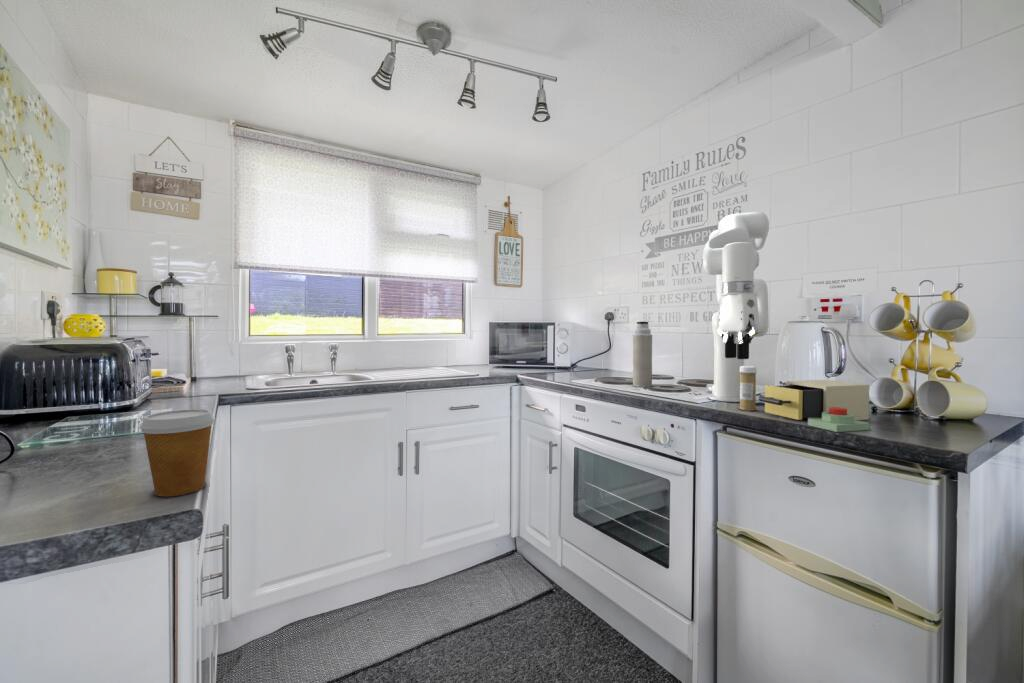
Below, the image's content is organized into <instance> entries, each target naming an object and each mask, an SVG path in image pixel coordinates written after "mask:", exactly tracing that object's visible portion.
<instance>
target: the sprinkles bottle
mask: <svg viewBox="0 0 1024 683" xmlns="http://www.w3.org/2000/svg"><path fill="white" fill-rule="evenodd" d="M756 383H757V366H752V365H744V366H740V402H739V409H740V410H741V411H747V412H754V411H756V410H757V407H756V405H757V404H756V402H757V401H756V400H757V389H756V388H757V384H756Z"/></svg>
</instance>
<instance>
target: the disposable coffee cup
mask: <svg viewBox="0 0 1024 683" xmlns="http://www.w3.org/2000/svg"><path fill="white" fill-rule="evenodd" d="M142 417H143V418H142V420H141V424H140V425H139V429H140V430H141V433H143V436H144V442H145V448H146V453H147V458H148V463H149V468H150V474H151V478H152V485H153V489H154V495H155V496H157V497H167V498H169V497H177V496H183V495H187V494H191V493H194V492H197V491H199V490H201V489H203V488H204V487H205V485H206V477H207V468H208V462H209V461H208V460H209V453H210V443H211V435H212V428H213V425H214V422H215V420H216V417H215V416H214V415H213V412H212V410H211V409H207V408H205V409H204V408H194V409H193V408H190V409H189V408H188V409H176V410H167V411H162V412H160V411H159V412H156V413H151V414H147V415H145V416H142Z"/></svg>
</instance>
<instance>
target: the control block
mask: <svg viewBox="0 0 1024 683" xmlns="http://www.w3.org/2000/svg"><path fill="white" fill-rule="evenodd" d="M807 426H809V427H810V426H811V427H814V428H817V429H818V428H819V429H823V430H827V431H832V432H834V433H842V432H856V431H869V430H870V422H866V421H863V420H855V415H853V414H850V413H847V415H833V414H829V411H826V412H822V418H812V419H810V418H807Z"/></svg>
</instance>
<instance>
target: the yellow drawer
mask: <svg viewBox="0 0 1024 683" xmlns="http://www.w3.org/2000/svg"><path fill="white" fill-rule="evenodd" d="M823 398H824V389H820V388H813V387H806V386H799V385H787V384H786V385H770V384H769V385H768V384H765V386H764V396H762V395H759V396H758V398H757V399H758V401H759V402H762V403H764V413H766V414H771V415H775V416H780V417H784V418H789V419H791V420H792V419H793V420H796V421H802V420H803V419H810V417H822V412H823Z"/></svg>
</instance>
